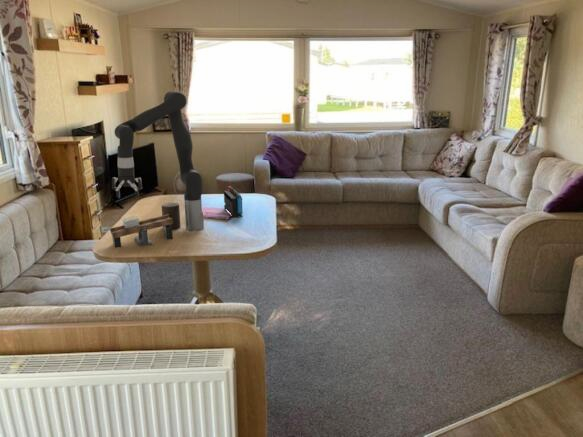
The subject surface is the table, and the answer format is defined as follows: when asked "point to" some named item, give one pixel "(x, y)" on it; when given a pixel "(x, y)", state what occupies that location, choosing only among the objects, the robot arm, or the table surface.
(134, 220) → the steel weight
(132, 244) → the table surface
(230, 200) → the game console
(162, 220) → the walnut beam
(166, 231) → the pivot stand
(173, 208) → the pillar candle
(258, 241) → the table surface
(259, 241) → the table surface
